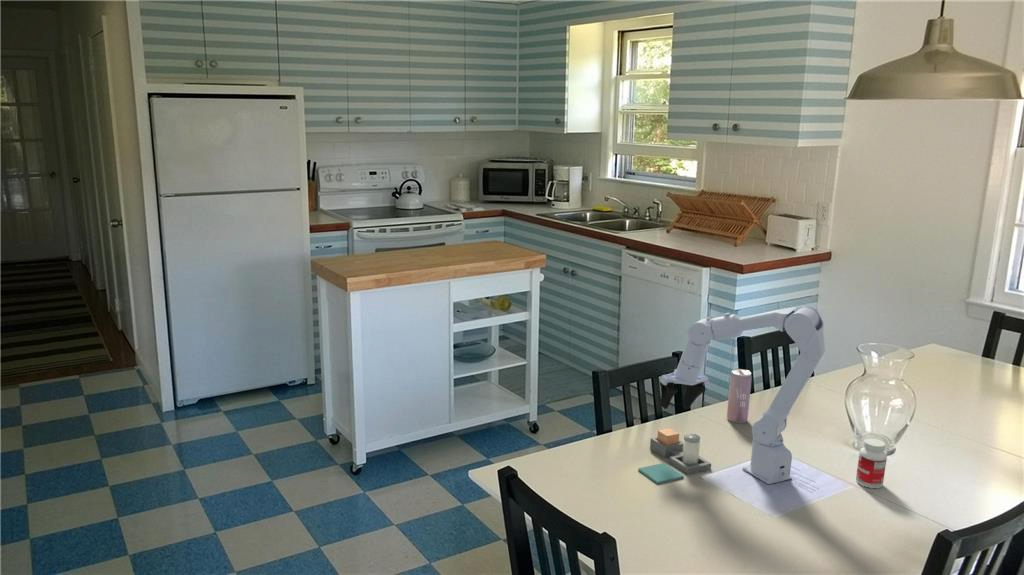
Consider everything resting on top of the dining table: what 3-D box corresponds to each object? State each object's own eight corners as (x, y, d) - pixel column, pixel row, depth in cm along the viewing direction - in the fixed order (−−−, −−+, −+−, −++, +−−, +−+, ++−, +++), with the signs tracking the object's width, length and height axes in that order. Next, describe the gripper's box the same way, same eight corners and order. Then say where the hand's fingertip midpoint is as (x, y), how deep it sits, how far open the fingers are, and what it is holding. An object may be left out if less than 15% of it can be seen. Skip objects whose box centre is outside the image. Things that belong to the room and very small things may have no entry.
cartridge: (701, 467, 198) (703, 438, 197) (688, 470, 197) (690, 441, 195) (690, 461, 202) (693, 432, 200) (678, 463, 200) (680, 435, 198)
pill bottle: (850, 478, 195) (856, 437, 192) (873, 477, 195) (879, 436, 193) (864, 489, 189) (869, 447, 186) (887, 489, 189) (893, 447, 187)
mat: (683, 478, 192) (683, 475, 192) (657, 484, 189) (657, 481, 189) (663, 464, 199) (664, 462, 199) (638, 470, 196) (638, 468, 196)
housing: (710, 469, 198) (711, 458, 197) (687, 474, 194) (688, 463, 194) (670, 444, 212) (671, 433, 211) (648, 448, 209) (649, 438, 208)
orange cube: (678, 447, 206) (679, 433, 205) (666, 450, 205) (667, 436, 204) (668, 441, 210) (669, 428, 209) (656, 444, 208) (657, 430, 207)
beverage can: (745, 416, 233) (749, 369, 230) (749, 424, 227) (753, 375, 224) (725, 415, 233) (729, 368, 230) (728, 423, 228) (732, 374, 224)
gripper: (703, 355, 209) (686, 397, 214) (660, 354, 202) (645, 398, 207) (719, 368, 203) (702, 412, 208) (676, 368, 196) (659, 413, 201)
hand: (674, 406), depth 207 cm, fingers open, 7 cm apart
